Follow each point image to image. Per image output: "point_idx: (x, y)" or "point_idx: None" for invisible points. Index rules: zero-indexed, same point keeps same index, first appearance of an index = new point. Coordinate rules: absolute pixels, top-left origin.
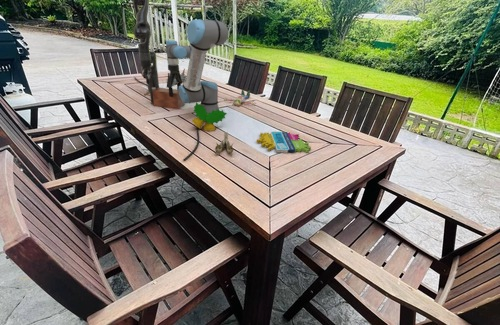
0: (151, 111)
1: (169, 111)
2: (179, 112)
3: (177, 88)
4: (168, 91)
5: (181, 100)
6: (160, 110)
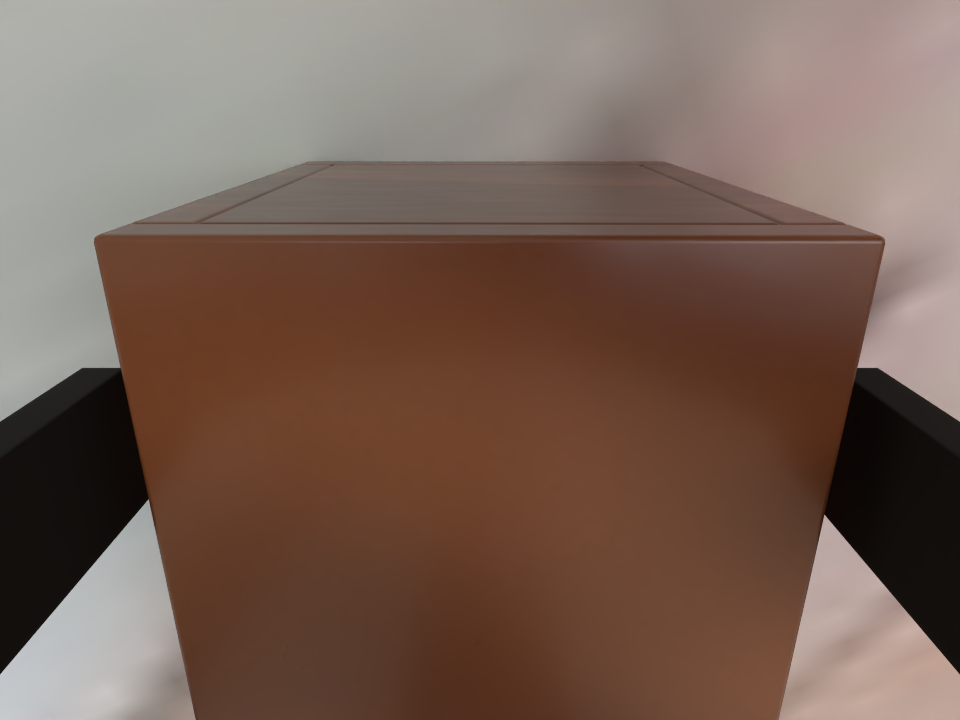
0: None
1: (891, 276)
2: (928, 10)
3: (65, 585)
4: (632, 698)
5: (450, 179)
6: None
